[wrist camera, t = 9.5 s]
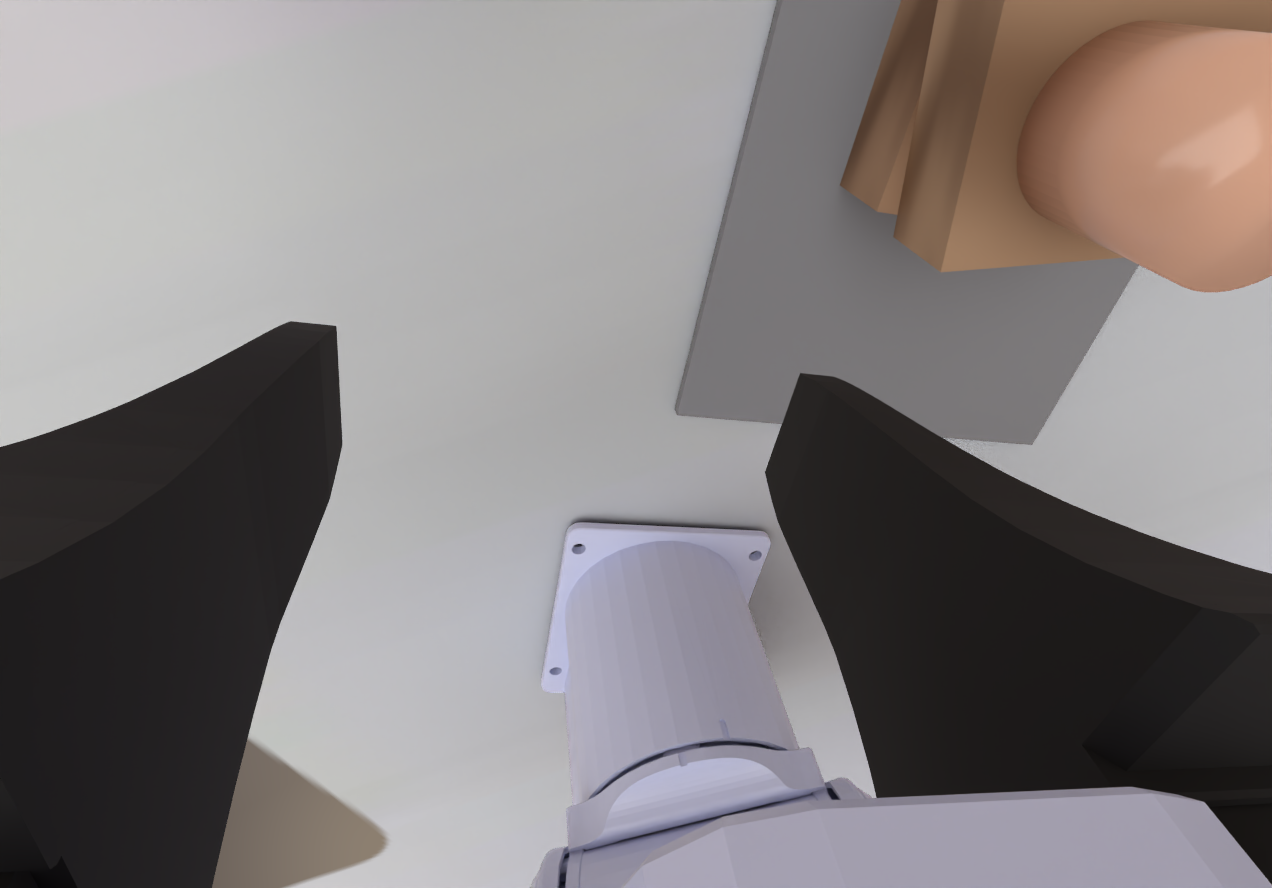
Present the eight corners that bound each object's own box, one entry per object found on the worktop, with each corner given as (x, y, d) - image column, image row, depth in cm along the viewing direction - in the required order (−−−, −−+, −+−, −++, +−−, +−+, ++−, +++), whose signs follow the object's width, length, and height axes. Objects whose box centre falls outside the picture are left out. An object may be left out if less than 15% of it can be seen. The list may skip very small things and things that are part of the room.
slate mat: (1025, 438, 27) (1032, 444, 27) (674, 408, 24) (677, 415, 24) (1321, -68, 18) (1336, -69, 18) (832, -218, 15) (839, -222, 15)
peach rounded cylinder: (1139, 230, 16) (1293, 299, 13) (986, 216, 16) (1110, 285, 12) (1241, 34, 14) (1456, 58, 11) (1070, 6, 14) (1248, 23, 10)
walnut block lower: (1020, 215, 21) (1073, 243, 19) (839, 185, 20) (876, 211, 18) (1132, -19, 18) (1211, -15, 16) (925, -74, 17) (982, -77, 15)
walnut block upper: (1105, 221, 19) (1176, 253, 17) (893, 237, 18) (940, 272, 16) (1203, -52, 16) (1306, -52, 14) (946, -43, 15) (1014, -42, 13)
